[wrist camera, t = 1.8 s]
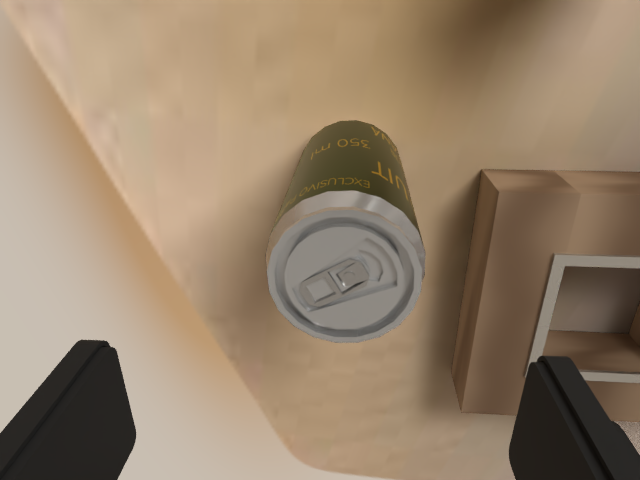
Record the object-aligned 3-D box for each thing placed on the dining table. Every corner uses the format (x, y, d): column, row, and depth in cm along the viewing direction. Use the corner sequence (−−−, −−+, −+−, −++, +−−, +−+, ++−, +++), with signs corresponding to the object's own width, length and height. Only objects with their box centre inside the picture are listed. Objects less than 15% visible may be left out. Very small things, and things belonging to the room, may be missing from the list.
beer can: (332, 227, 27) (314, 369, 17) (283, 148, 25) (226, 250, 15) (417, 185, 26) (457, 311, 15) (371, 97, 24) (380, 169, 13)
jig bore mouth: (721, 257, 23) (724, 259, 22) (669, 382, 26) (671, 384, 26) (553, 253, 23) (555, 254, 23) (524, 375, 27) (525, 377, 26)
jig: (760, 174, 24) (820, 198, 21) (672, 382, 30) (708, 425, 27) (481, 169, 25) (498, 192, 22) (451, 371, 31) (461, 412, 28)
